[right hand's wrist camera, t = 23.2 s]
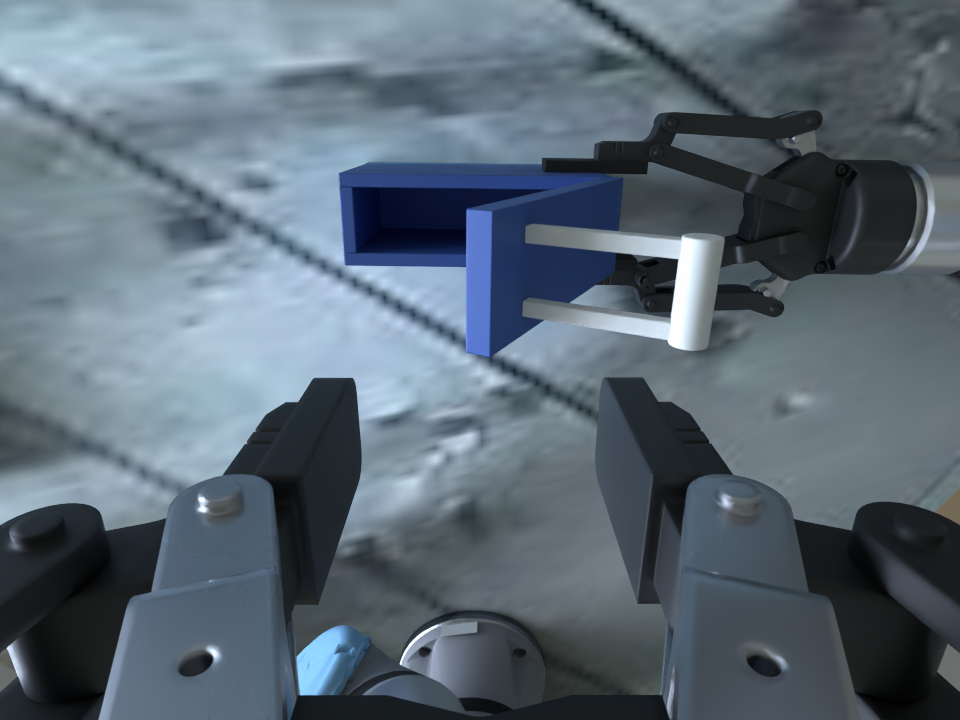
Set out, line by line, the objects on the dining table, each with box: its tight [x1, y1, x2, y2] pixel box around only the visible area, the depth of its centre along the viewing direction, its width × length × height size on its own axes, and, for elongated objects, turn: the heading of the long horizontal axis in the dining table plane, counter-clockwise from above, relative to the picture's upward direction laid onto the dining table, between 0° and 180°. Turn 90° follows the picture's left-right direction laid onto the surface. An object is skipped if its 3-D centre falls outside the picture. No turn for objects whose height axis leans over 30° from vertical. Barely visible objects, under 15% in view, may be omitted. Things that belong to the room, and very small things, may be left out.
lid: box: [466, 177, 725, 357], centre depth 28 cm, size 17×6×9 cm
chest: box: [339, 162, 611, 267], centre depth 42 cm, size 16×6×11 cm, turn 89°
